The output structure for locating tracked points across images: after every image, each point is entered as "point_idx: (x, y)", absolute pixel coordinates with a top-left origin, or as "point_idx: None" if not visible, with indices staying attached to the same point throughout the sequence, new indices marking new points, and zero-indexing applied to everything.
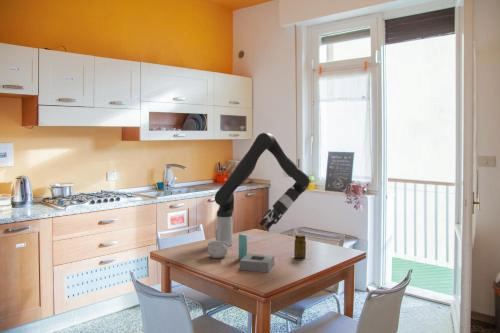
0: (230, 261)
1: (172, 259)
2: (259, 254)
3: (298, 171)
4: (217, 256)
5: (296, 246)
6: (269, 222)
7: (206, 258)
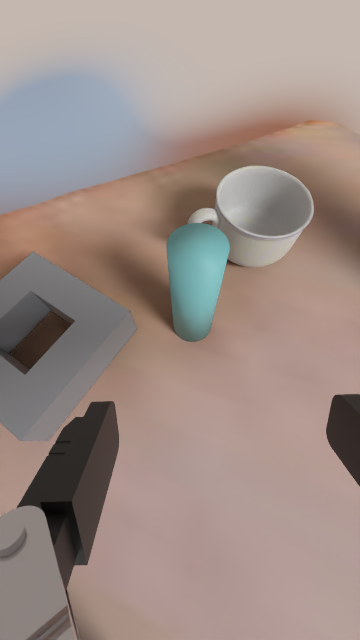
0: None
1: (242, 144)
2: (83, 360)
3: None
4: None
5: None
6: (50, 489)
7: None
